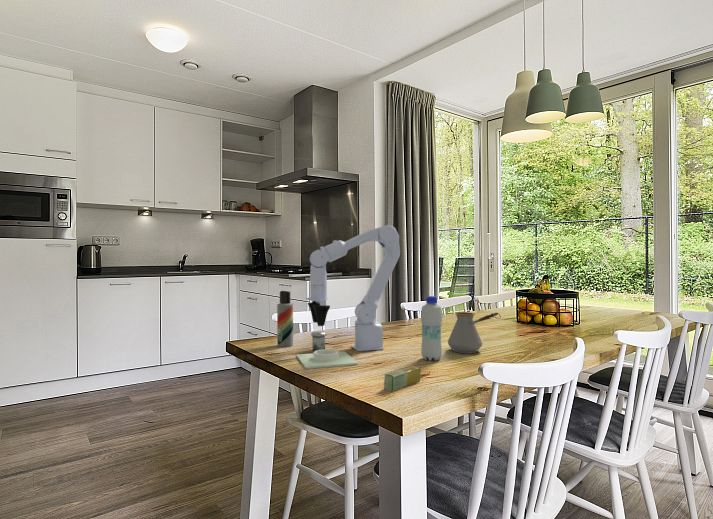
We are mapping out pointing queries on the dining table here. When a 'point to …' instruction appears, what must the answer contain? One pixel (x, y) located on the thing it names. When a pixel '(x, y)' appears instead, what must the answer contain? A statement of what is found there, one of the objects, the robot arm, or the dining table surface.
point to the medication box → (402, 378)
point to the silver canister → (318, 340)
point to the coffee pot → (466, 333)
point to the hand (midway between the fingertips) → (318, 324)
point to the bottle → (431, 329)
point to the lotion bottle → (285, 320)
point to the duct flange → (326, 359)
